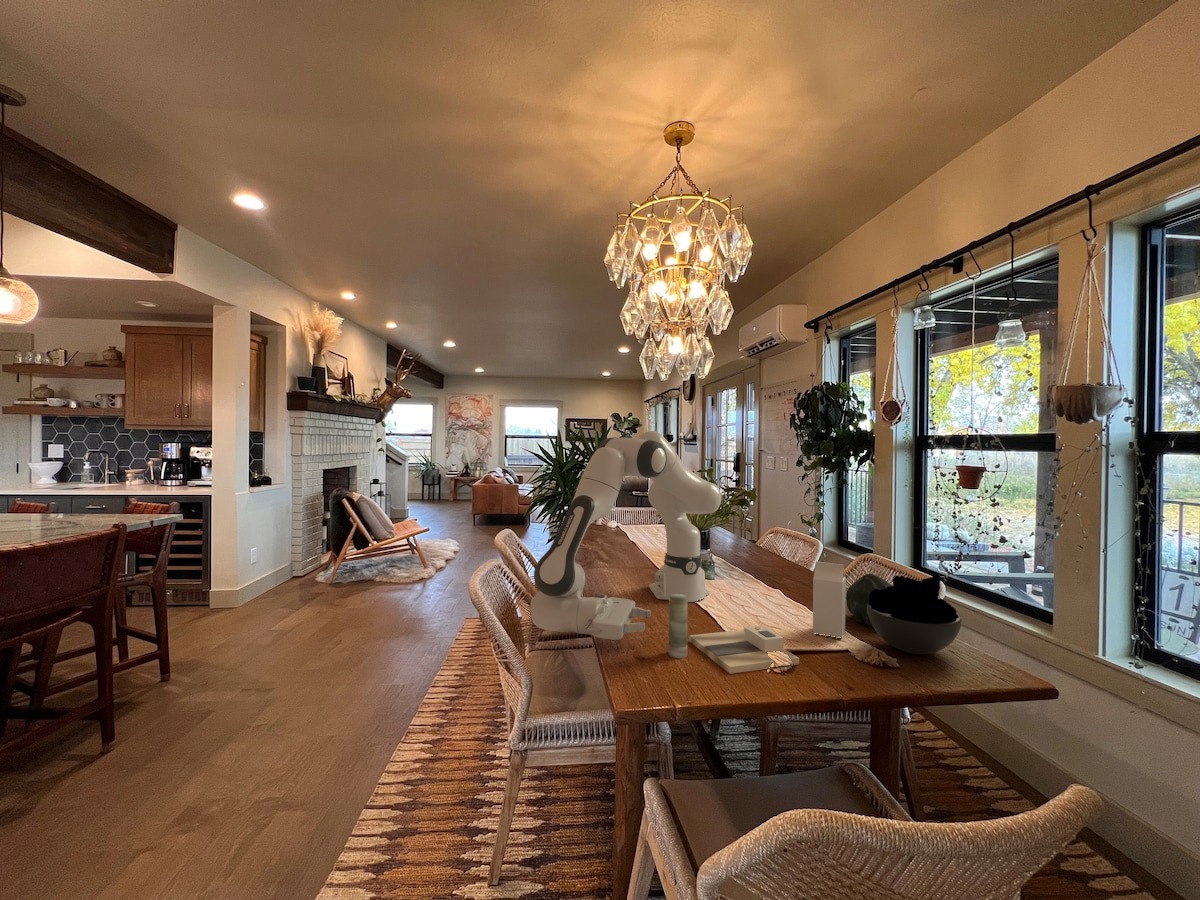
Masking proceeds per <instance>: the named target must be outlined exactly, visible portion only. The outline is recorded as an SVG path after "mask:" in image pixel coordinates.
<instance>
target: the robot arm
mask: <svg viewBox="0 0 1200 900" xmlns="http://www.w3.org/2000/svg"><path fill="white" fill-rule="evenodd" d="M624 476H629V477H643V478H648V479H649V478H650V479H651V480H652V483H651V484H650V486H649V488H648V493H647V495H648V498H647V499H648V502H649V504H650V505H651V506H652V508H654V510H656V511H657V513H658V514H659V516H660V518H661V521H662V522H663V525H664V529H665V536H666V552H665V553H664V561H663V565H662V566H661V567H660V568H659V569H658V570H657V571H656V573H655V574H654V575H653V581H654V583H650V584H648V585H649V587H648V588H649V589H650V590H651V592H652V594H653V595H654V597H656V599H658V600H667V601H669V596H670V595H672V594H682V595H686V596H687V603H695V602H699V601H698V600H700V601H702V600H701V599H703V598H704V597H705V598H706V597H707V596H709V595H710V592H709V590H707V588H706V587H707V586H706V574H705V570H704V569H703V568H702V565H703V564H702V561H703V559H702V554H701V532H700V530H699V528H698V527H696V526H695V525H694V524H692V523H691V522H690V520H689V519H688V516H687V514H691V515H708V514H713V513H716V512H717V510H718V509H719V508H720V507H721V504H722V493H721V490H720V488H719V486H718V485H717V484H716V483H713V482H709V480H706V479H704V478H702V477H700V476H699V475H698V474H696V473H694V472H693V471H692V470H691V469H690V468H688V467H687V466H686V465H685V464H684V462H683V461H682V459H681V458H680V457H679V455H678V454H677V452H676V450H675V448H674V447H673V446H672V444H671V443H670V442H669V441H668V440H667V439H666V438H665V437H664V436H663V435H662V434H661V433H659V432H658V431H655V430H649V431H645V432H643V433H642V434H641V435H639V436H638V437H617V436H615V437H614V436H612V437H607V438H605V439H603V440H602V441H601V443H600V444H599V445H598V447H597V448H596V450H595V451H594V453H593V454H592V456H591V458H590V459H589V461H588V463H587V465H586V467H585V468H584V470H583V472H582V475H581V478H580V481H579V483H578V486H577V488H576V491H575V494H574V496H573V499H572V501H571V503H570V506H569V507H568V510H567V511H566V513H565V515H564V518H563V520H562V522H561V525H560V526H559V528H558V530H557V533H556V535H555V537H554V539H553V542H552V543H551V545H550V547H549V549H548V550H547V551H546V552H545V553H544V555H543V556H542V557H540V559H539V560H538V561H537V563H536V565H535V567H534V572H533V580H534V583H535V586H536V587H537V589H538V590H539V591H537V593H536V594H535V595H534V596H533V597H532V598H531V600H530V603H529V613H530V619H531V620H532V623H533V624H534V626H536V627H537V628H539V629H542V630H545V631H551V632H560V633H565V632H572V633H573V632H574V633H575V634H578V635H579V634H581V635H591V636H593V637H595V638H600V639H604V640H613V641H619V640H622V639H623V637H624V635H625V634H626V633H627V634H631V633H635V632H640V633H643V632H645V630H646V623H645V622H643V621H642V622H641V621H637V622H632V620H633V618H634V617H635V618H637V617H641V618H642V619H644V620H645V619H646V620H647V619H651V616H652V615H651V614H652V611H651V610H650V609H644V608H642V607H638V606H636V601H634V600H632V599H628V598H621V597H615V596H614V597H613V596H612V597H609V596H607V594H598V595H596V596H591V597H589V596H588V597H585V596H583V592H584V589H585V585H586V578H587V576H586V572H585V570H584V568H583V567H582V566H581V564H579V563H577V561H576V560H575V559H576V555H577V554H578V550H579V548H580V547H581V544H582V541H583V539H584V537H585V534H586V533H587V530H588V528H590V527H589V526H590V525H591V524H592V523H593V522H595V521H597V520H599V519H602V518H604V517H607V516H608V515H609V514H610V513H611V511H612V509H613V508H614V506H615V503H616V501H617V498H618V496H619V493H620V490H621V488H622V484H623V479H624ZM708 594H709V595H708ZM706 595H707V596H706ZM705 598H704V599H705ZM704 599H703V600H704Z"/></svg>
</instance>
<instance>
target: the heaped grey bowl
mask: <svg viewBox="0 0 1200 900" xmlns="http://www.w3.org/2000/svg"><path fill="white" fill-rule="evenodd" d="M891 581H892V586H888V587H887V588H886V589H882V590H878V589H876V588H875V589H874V590H873V591H872V592H871V594H870V595H869V603H868V604H867V612H868V616H869V619H870V622H871V624H872V625H871V626H872V627H873V629H874V630H875V632H876V634H878V635H879V636H880V638H881V639H883V641H885V642H886V643H887V644H889V645H890V646H892V648H893V647H894V648H896V649H897V650H899V651H902V652H905V653H908V654H912V655H928V654H934V653H937V652H939V651H942V650H944V649H945V648H947V647H948V646H950V645H951V644H952V643H953V642H954V641H955V639H956V638H957V636H958V634H959V632H960V631H961V627H962V626H961V625H962V622H963V621H962V619H963V618H962V617H961V616H960V614H958V613H957V609H956V608H955V607H953V606H952V605H951V603H948V602H947V601H946V600H945V599H943V598H939V595H940V589H941V585H940V583H941V582H942V576H941V575H939V574H938V575H933V576H931V577H927V578H922V580H918V579H917V580H916V579H914V578H911V577H909V576H904V575H894V577H893V578H892V580H891Z"/></svg>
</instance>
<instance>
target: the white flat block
mask: <svg viewBox="0 0 1200 900" xmlns="http://www.w3.org/2000/svg"><path fill="white" fill-rule="evenodd" d="M688 636H689V642H690V644H691V645H693V646H694V647H696V648H697V649H699V651H701V652H702V653H703V654H705V655H706V656H707V657H708V658H710V659H711V660H712V661H713V662H714V663H716V664H717V665H718V666H719V667H721V668H722V669H723V670H724V671H725V672H727V673H728V674H731V675H733V674H739V673H747V672H753V671H759V670H760V671H761V670H768V668H769V667H770V665H771V664H772V663H773V662H775V661H774V660H772V659H771V658H770V657H769V656H768V653H767V652H764V651H762V650H760V649H759V648H757V647H756V646H754V645H753V644H751V643H750V642H748V641H747V640H745V639H744V629H736V630H728V631H718V632H717V631H716V632H708V633H700V634H699V633H698V634H690V635H688ZM775 652H776V651H775ZM780 652H784V653H786V654H788V656H789V658H790V659H791V661H792V662H793V664H794V665H793V666H798V665H800V657H798V656H797V655H795V654H793V653H792V652H790V651H789V650H787V649H785V648H783V650H781V651H780ZM769 669H770V668H769Z"/></svg>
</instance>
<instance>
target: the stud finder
mask: <svg viewBox="0 0 1200 900" xmlns="http://www.w3.org/2000/svg"><path fill="white" fill-rule="evenodd" d="M743 628H744V629H743V630H744V639H745V640H747V641H748V642H750V643H751V644H753V645H754V646H756V647H757V648H759V649H760V650H762V651H764V652H773V651H781V650H783V649H784V637H783V636H781V635H780V634H778V633H776V632H775V631H772V630H771V629H768V627H766V626H765V625H762V624H761V625H759V624H758V625H752V626H750V625H749V626H744V627H743Z"/></svg>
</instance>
